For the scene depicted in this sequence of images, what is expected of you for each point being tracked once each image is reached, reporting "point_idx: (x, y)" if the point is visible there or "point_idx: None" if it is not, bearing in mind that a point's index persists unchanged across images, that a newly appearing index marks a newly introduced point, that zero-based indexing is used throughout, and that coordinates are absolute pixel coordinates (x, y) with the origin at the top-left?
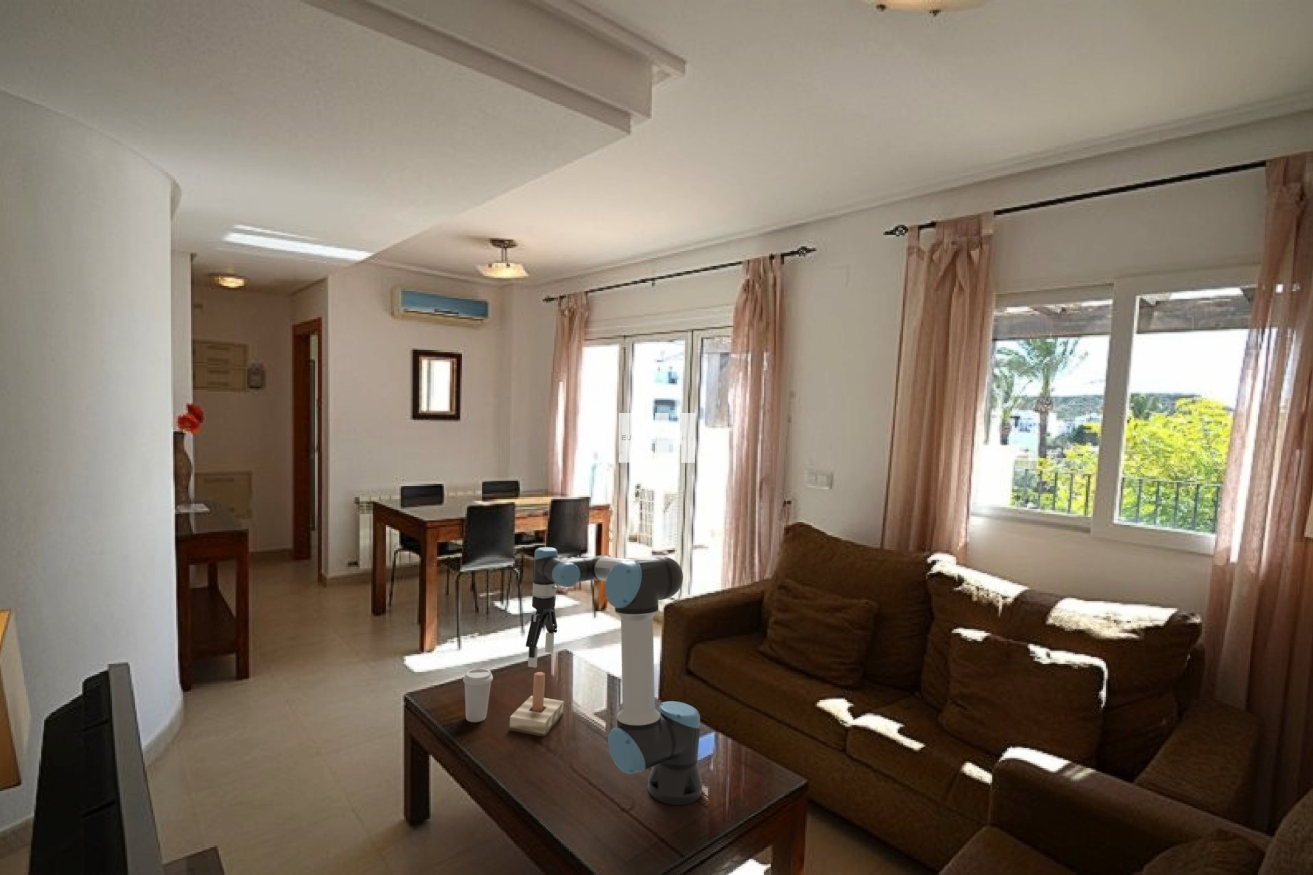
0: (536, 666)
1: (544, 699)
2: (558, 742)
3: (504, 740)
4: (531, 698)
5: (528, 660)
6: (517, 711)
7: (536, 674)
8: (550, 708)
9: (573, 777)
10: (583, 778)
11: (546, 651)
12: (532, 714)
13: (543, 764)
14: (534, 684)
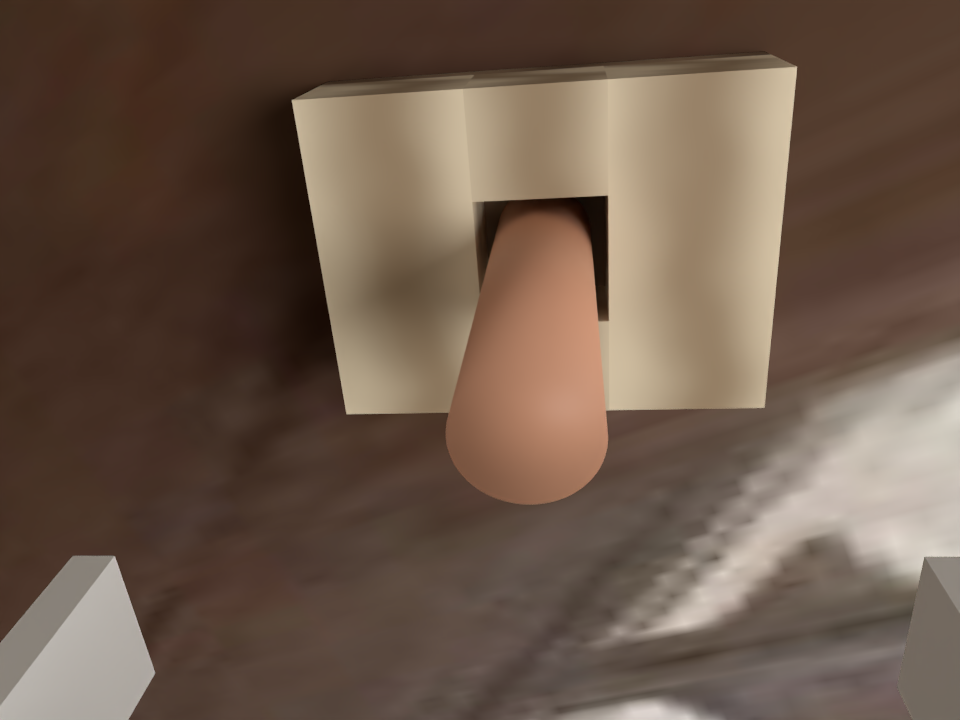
0: (137, 679)
1: (745, 238)
2: (352, 464)
3: (183, 128)
4: (729, 104)
5: (4, 644)
6: (408, 115)
7: (500, 404)
8: None
9: None
10: None
11: (926, 591)
12: (420, 269)
13: (105, 475)
14: (468, 344)
